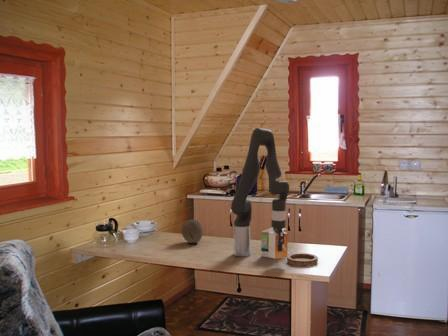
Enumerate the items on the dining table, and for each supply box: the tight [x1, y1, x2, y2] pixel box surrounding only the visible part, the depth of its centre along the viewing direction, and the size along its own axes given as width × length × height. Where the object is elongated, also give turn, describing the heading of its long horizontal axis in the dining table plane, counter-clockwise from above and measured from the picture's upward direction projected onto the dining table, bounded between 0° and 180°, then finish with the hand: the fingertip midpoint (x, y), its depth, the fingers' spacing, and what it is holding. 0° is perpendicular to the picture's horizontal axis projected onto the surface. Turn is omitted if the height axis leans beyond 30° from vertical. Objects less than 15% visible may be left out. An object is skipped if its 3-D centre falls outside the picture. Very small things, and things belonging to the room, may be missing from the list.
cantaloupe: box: [181, 219, 204, 244], centre depth 315 cm, size 14×14×15 cm
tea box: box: [260, 227, 288, 259], centre depth 283 cm, size 15×10×15 cm, turn 148°
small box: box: [269, 232, 289, 260], centre depth 260 cm, size 8×6×13 cm
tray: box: [286, 252, 319, 267], centre depth 268 cm, size 16×16×3 cm
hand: (278, 248), depth 260 cm, fingers closed on small box, 7 cm apart
